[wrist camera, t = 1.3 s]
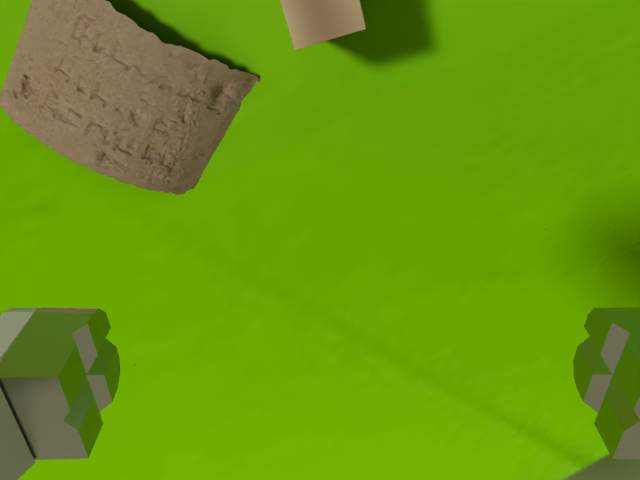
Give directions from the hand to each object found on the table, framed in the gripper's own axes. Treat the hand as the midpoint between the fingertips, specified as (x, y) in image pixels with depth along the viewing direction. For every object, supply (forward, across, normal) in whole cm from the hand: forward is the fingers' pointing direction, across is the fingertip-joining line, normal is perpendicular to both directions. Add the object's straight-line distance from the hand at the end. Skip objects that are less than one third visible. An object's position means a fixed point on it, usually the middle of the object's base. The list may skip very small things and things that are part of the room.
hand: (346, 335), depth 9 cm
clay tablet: (+26, +12, +4) cm, 29 cm away
